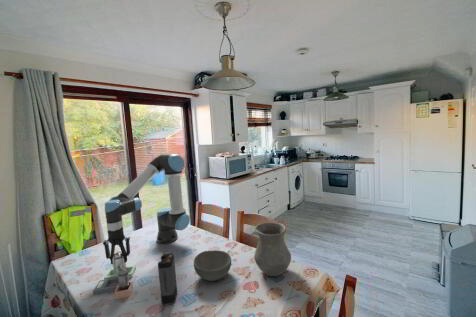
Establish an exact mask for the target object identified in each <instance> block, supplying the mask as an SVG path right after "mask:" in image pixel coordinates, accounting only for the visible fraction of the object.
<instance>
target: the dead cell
mask: <svg viewBox="0 0 476 317" xmlns="http://www.w3.org/2000/svg"><path fill="white" fill-rule="evenodd" d="M127 267H128V266H126V267H123V268H121V269H119V270H118V276H119V282H118V284H119V291H123V290H128V288H129V282H130V280H129V279H130V278H129V270H128V268H127Z"/></svg>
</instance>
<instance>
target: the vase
mask: <svg viewBox="0 0 476 317" xmlns="http://www.w3.org/2000/svg"><path fill="white" fill-rule="evenodd" d="M254 231H255V233H256V234H257V235H258V242H257V246H256V248H255V252H254V261H255V263H256V266H257V267H258V269H259V270H260V271H261V272H262V273H263V274H265V275H267V276H269V277H278V276H280V275H282V274H284V273H285V272H286V270H288V268H289V266H290V264H291V261H292V254H291V252H290V250H289V249H288V247H287V244H286V241H285V235H286V234H285V233H286V231H287V227H286V225H285V224H283V223H281V222H275V221H274V222H273V221H271V222H270V221H268V222H267V221H266V222H263V223H262V222H261V223H259V224H257V225H256V226H254Z"/></svg>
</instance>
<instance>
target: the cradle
mask: <svg viewBox="0 0 476 317" xmlns="http://www.w3.org/2000/svg"><path fill="white" fill-rule="evenodd" d="M97 282H98V283H97V284H96V285H95V287H94V289H93V290H92V293H93V295H99V294H103V293H105V294H106V293H109V292H115V291H116V289H117V287H118V285H119V277H117V278H111V279H105V280H104V279H101V280H98V281H97ZM113 283H118V284H117V285H112V286H109V285H110V284H113Z"/></svg>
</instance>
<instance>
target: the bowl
mask: <svg viewBox="0 0 476 317" xmlns="http://www.w3.org/2000/svg"><path fill="white" fill-rule="evenodd" d="M231 266H232V257H231V254H229V253H228V252H226V251H223V250H218V249H217V250H216V249H215V250H203V251H202V252H200V253H198V254H196V256H195V257H194V260H193V268H194V271H195V274H197V276H199V278H201V279H203V280H205V281H209V282H211V281H213V282H214V281H218V280H221V279H222V278H224V277H225V276H227V274H228V273H229V271H230V269H231Z"/></svg>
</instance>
